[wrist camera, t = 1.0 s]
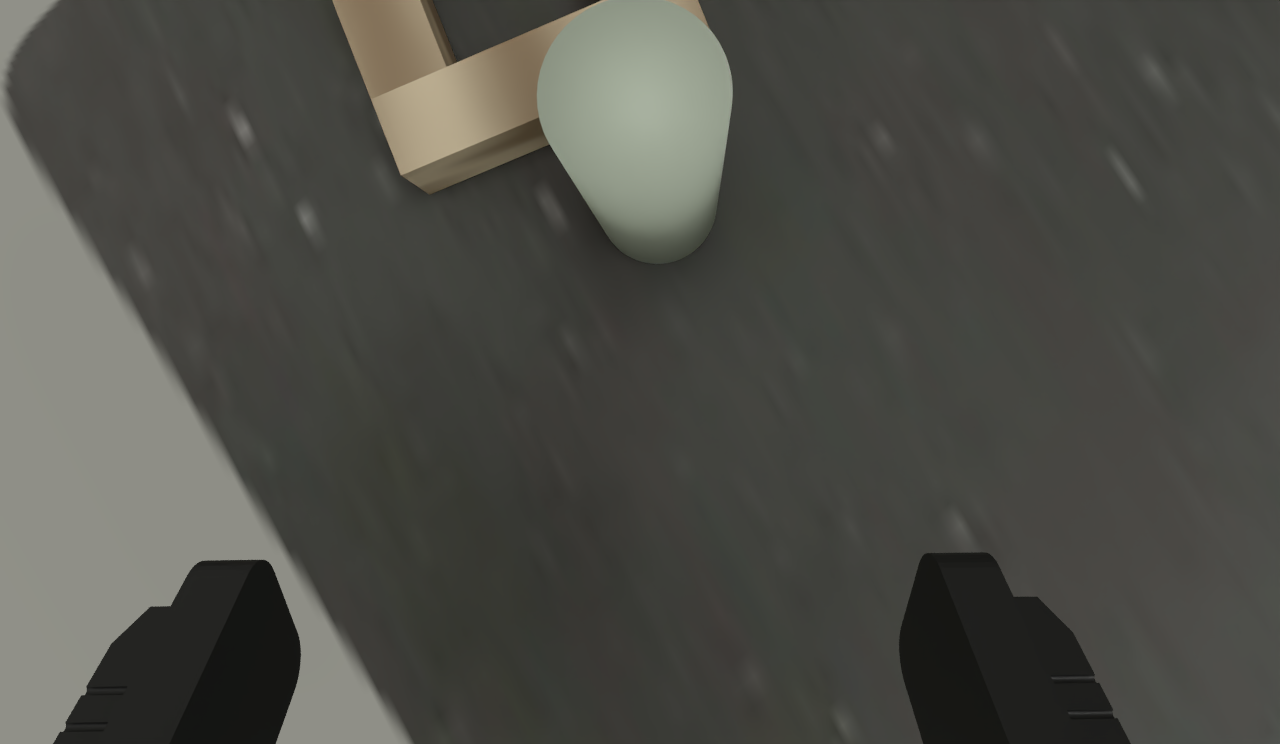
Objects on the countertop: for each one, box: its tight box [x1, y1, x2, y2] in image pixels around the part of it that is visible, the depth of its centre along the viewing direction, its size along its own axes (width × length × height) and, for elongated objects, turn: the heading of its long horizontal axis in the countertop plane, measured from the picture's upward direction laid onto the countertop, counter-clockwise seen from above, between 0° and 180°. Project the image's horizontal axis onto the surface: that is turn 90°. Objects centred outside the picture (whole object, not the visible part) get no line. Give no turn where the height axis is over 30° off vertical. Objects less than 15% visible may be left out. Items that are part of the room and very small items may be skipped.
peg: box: [537, 0, 733, 264], centre depth 24 cm, size 4×4×12 cm
